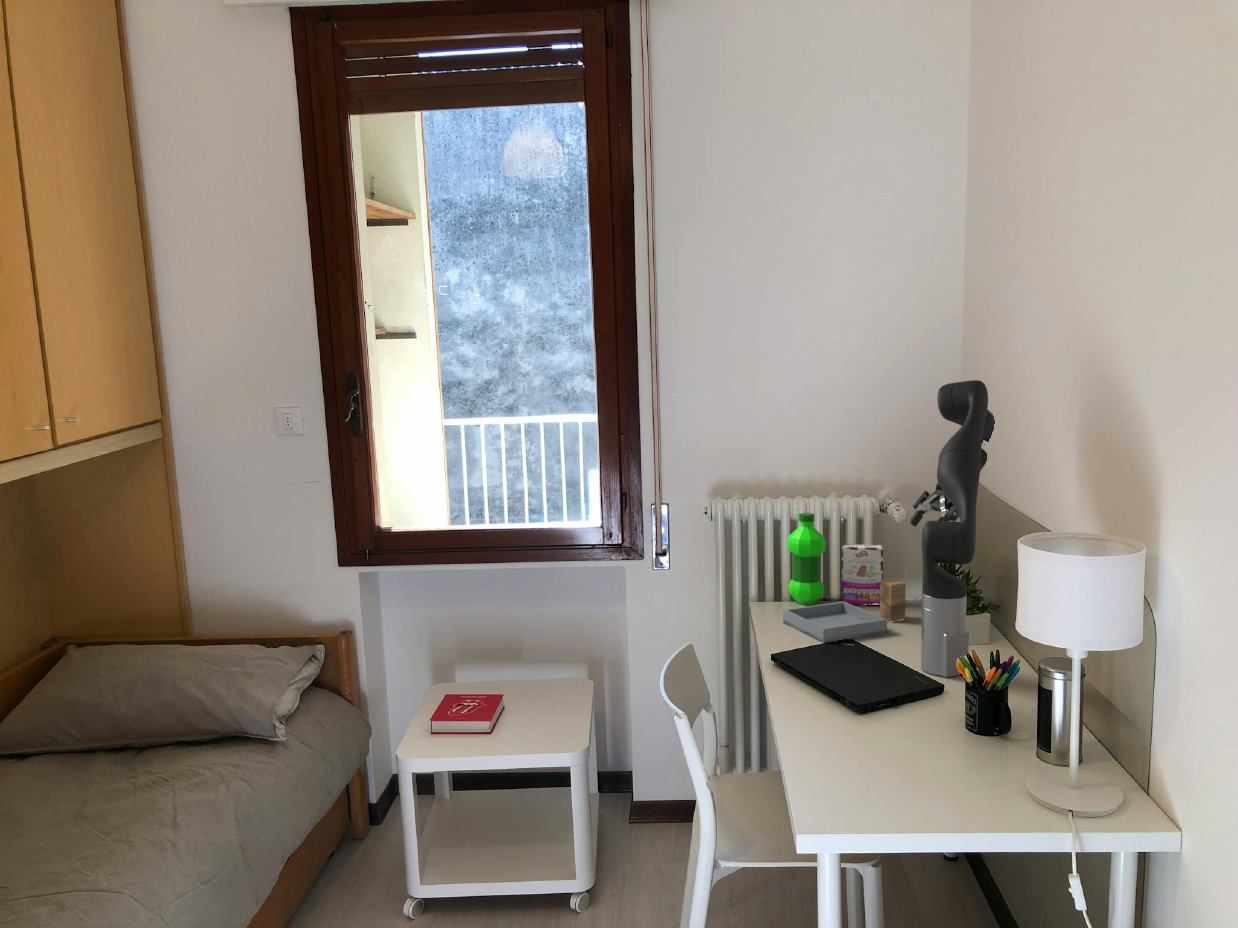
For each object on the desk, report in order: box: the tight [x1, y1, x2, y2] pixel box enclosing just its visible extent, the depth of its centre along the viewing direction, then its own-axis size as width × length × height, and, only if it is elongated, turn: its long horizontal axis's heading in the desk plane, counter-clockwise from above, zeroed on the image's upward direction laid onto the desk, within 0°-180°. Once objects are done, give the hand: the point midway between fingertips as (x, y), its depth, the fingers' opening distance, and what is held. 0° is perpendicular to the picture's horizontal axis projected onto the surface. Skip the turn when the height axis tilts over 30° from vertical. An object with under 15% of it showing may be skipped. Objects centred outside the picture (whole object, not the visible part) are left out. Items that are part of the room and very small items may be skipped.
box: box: [782, 601, 888, 644], centre depth 239 cm, size 19×19×4 cm
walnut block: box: [879, 579, 907, 622], centre depth 245 cm, size 4×4×10 cm
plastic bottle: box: [787, 512, 827, 605], centre depth 263 cm, size 10×10×25 cm
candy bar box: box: [841, 543, 884, 606], centre depth 261 cm, size 11×5×16 cm, turn 73°
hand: (923, 527), depth 248 cm, fingers open, 8 cm apart
